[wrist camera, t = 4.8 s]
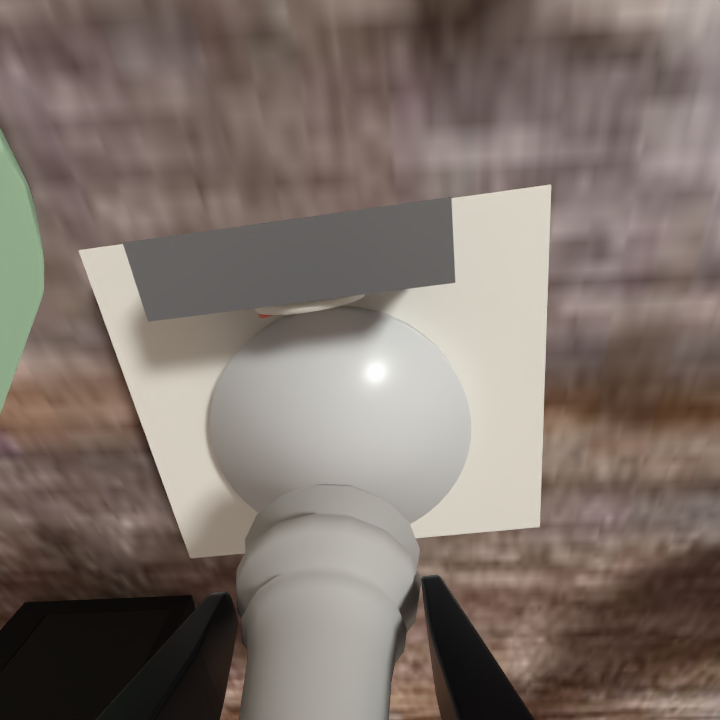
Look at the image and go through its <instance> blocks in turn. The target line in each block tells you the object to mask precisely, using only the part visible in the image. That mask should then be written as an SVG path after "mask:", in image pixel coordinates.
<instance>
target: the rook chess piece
mask: <svg viewBox="0 0 720 720" xmlns="http://www.w3.org/2000/svg"><path fill="white" fill-rule="evenodd" d="M245 550H246V552H245V554H244V556H243V558H242V560H241V562H240V564H239V566H238V568H237V575H236V591H237V605H238V612H239V614H240V615H241V617H242V618H241V629H242V642H243V644H244V646H245V647H246V649H247V666H246V673H245V680H244V687H243V694H242V701H241V708H240V715H239V720H389V707H390V692H391V681H392V676H393V670H394V665H395V663H396V661H397V660H398V659H399V657H400V656H401V655H402V653H403V652H404V647H405V640H406V633H407V632H408V630H409V629H410V628H411V626H412V625H413V624H414V622H415V619H416V613H417V607H418V600H419V593H420V586H421V578H420V575H419V573H418V570H417V566H418V559H419V552H420V548H419V546H418V543H417V541H416V538H415V536H414V533H413V530H412V528H411V525H410V523H409V522H408V521H407V520H406V519H405V518H404V517H403V516H402V515H401V514H400V513H399V512H397V511H396V510H395V509H394V508H393V507H392V506H391V505H390V504H389V503H388V502H387V501H385V500H384V499H382V498H380V497H378V496H376V495H373V494H371V493H368V492H366V491H363V490H361V489H358V488H356V487H354V486H351V485H336V484H318V485H314V486H311V487H307V488H304V489H300V490H297V491H293V492H290V493H287V494H283V495H281V496H280V497H279V498H277V499H276V500H275V501H273V502H272V503H271V504H270V505H268V506H267V507H266V508H264V509H263V510H262V511H261V512H259V513H258V514H257V515H256V517H255V519H254V522H253V524H252V526H251V528H250V530H249V532H248V534H247V536H246V538H245Z"/></svg>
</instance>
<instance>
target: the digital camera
mask: <svg viewBox="0 0 720 720" xmlns="http://www.w3.org/2000/svg"><path fill="white" fill-rule="evenodd" d="M191 601H192V602H191ZM190 603H191V604H190ZM189 606H190V607H189ZM188 608H189V609H188ZM187 610H188V611H187ZM194 611H195V606H194V602H193V599H192V596H168V597H145V598H121V599H98V600H75V601H52V602H28V603H24V604H23V605H22V606H21V607H20V609H19V610H18V611H17V612H16V613H15V614H14V615H13V617H12V618H11V619H10V620H9V621H8V622H7V623H6V625H5V626H4V627H3V628H2V629H1V630H0V720H96V719H97V718H98V717H99V716H100V715H101V713H102V712H103V711H104V710H105V709H106V708H107V707H108V706H109V705H110V704H111V702H112V701H113V700H114V699H115V698H116V697H117V696H118V695H119V694H120V692H121V691H122V690H123V689H124V688H125V687H126V686H127V685H128V684H129V682H130V681H131V680H132V679H133V678H134V677H135V676H136V675H137V674H138V673H139V671H140V670H141V669H142V668H143V667H144V666H145V665H146V664H147V663H148V661H149V660H150V659H151V658H152V657H153V656H154V655H155V654H156V653H157V651H158V650H159V649H160V648H161V647H162V646H163V645H164V644H165V643H166V642H167V640H168V639H169V638H170V637H171V636H172V635H173V634H174V633H175V632H176V630H177V629H178V628H179V627H180V626H181V624H183V623H184V622H185V621H186V619H187V618H188V617H189V616H190V615H191V614H192V613H193V612H194ZM186 613H187V614H186ZM185 615H186V616H185ZM184 617H185V618H184ZM183 619H184V620H183ZM182 622H183V623H182Z"/></svg>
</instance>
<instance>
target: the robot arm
mask: <svg viewBox="0 0 720 720" xmlns="http://www.w3.org/2000/svg"><path fill="white" fill-rule="evenodd" d="M421 581H422V591H423V601H424V610H425V617H426V625H427V632H428V640H429V647H430V655H431V662H432V670H433V677H434V684H435V690H436V696H437V701H438V706H439V710H440V714H441V719H442V720H535V719H534V718H533V716H532V715H531V713H530V712H529V710H528V709H527V707H526V706H525V704H524V703H523V701H522V699H521V698H520V696H519V695H518V693H517V692H516V690H515V689H514V687H513V686H512V684H511V683H510V681H509V680H508V678H507V677H506V675H505V674H504V672H503V671H502V669H501V668H500V666H499V664H498V663H497V661H496V660H495V658H494V657H493V655H492V654H491V652H490V651H489V649H488V648H487V646H486V645H485V643H484V642H483V640H482V639H481V637H480V636H479V634H478V633H477V631H476V630H475V628H474V626H473V625H472V623H471V622H470V620H469V619H468V617H467V616H466V614H465V613H464V611H463V610H462V608H461V607H460V605H459V604H458V602H457V601H456V599H455V598H454V596H453V595H452V593H451V591H450V590H449V588H448V587H447V585H446V584H445V582H444V581H443V579H442V578H441V577H440V576H439V575H429V576H423V577H422V579H421ZM237 628H238V617H237V614H236V611H235V608H234V604H233V601H232V598H231V596H230V594H229V593H228V592H215V593H211V594H210V595H208V596H207V597H206V598H205V599H204V601H203V602H202V603H201V604H200V605H199V606H198V607H197V608H196V609H195V611H194V612H193V613H192V614H191V615H190V616H189V617H188V618H187V619H186V621H185V622H184V623H183V624H182V625H181V626H180V627H179V628H178V629H177V630H176V632H175V633H174V634H173V635H172V636H171V637H170V638H169V639H168V640H167V642H166V643H165V644H164V645H163V646H162V647H161V648H160V649H159V650H158V651H157V653H156V654H155V655H154V656H153V657H152V658H151V659H150V660H149V661H148V663H147V664H146V665H145V666H144V667H143V668H142V669H141V670H140V671H139V673H138V674H137V675H136V676H135V677H134V678H133V679H132V680H131V681H130V682H129V684H128V685H127V686H126V687H125V688H124V689H123V690H122V691H121V692H120V694H119V695H118V696H117V697H116V698H115V699H114V700H113V701H112V702H111V704H110V705H109V706H108V707H107V708H106V709H105V710H104V711H103V712H102V713H101V715H100V716H99V717H98V718H97V719H96V720H220V716H221V712H222V708H223V703H224V698H225V693H226V688H227V683H228V677H229V672H230V666H231V661H232V655H233V650H234V644H235V639H236V633H237Z"/></svg>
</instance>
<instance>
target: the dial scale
mask: <svg viewBox="0 0 720 720" xmlns="http://www.w3.org/2000/svg"><path fill="white" fill-rule="evenodd" d="M550 204H551V185H545V186H538V187H530V188H523V189H516V190H509V191H502V192H494V193H487V194H480V195H473V196H466V197H459V198H451V197H448V198H441V199H434V200H427V201H420V202H412V203H405V204H398V205H391V206H384V207H376V208H369V209H362V210H355V211H348V212H341V213H333V214H326V215H319V216H312V217H305V218H298V219H290V220H283V221H276V222H269V223H262V224H254V225H247V226H240V227H233V228H226V229H219V230H211V231H204V232H197V233H190V234H183V235H176V236H168V237H161V238H154V239H147V240H140V241H132V242H125V243H123V244H121V245H113V246H106V247H99V248H92V249H85V250H79V253H80V256H81V259H82V261H83V264H84V267H85V270H86V272H87V275H88V278H89V281H90V283H91V286H92V289H93V292H94V294H95V297H96V300H97V303H98V305H99V308H100V311H101V314H102V316H103V319H104V322H105V325H106V327H107V330H108V333H109V336H110V338H111V341H112V344H113V347H114V349H115V352H116V355H117V358H118V361H119V363H120V366H121V369H122V372H123V374H124V377H125V380H126V383H127V385H128V388H129V391H130V394H131V396H132V399H133V402H134V405H135V407H136V410H137V413H138V416H139V418H140V421H141V424H142V427H143V429H144V432H145V435H146V438H147V440H148V443H149V446H150V449H151V451H152V454H153V457H154V460H155V462H156V465H157V468H158V471H159V474H160V476H161V479H162V482H163V485H164V487H165V490H166V493H167V496H168V498H169V501H170V504H171V507H172V509H173V512H174V515H175V518H176V520H177V523H178V526H179V529H180V531H181V534H182V537H183V540H184V542H185V545H186V548H187V551H188V553H189V556H190V558H201V557H212V556H223V555H234V554H245V552H246V550H245V538H246V536H247V534H248V532H249V530H250V528H251V526H252V524H253V522H254V519H255V517H256V515H257V514H258V513H259V512H261V511H262V510H263V509H264V508H266V507H267V506H268V505H270V504H271V503H272V502H273V501H275V500H276V499H277V498H279V497H280V496H281V495H283V494H287V493H290V492H293V491H297V490H300V489H304V488H307V487H311V486H314V485H318V484H336V485H351V486H354V487H356V488H358V489H361V490H363V491H366V492H368V493H371V494H373V495H376V496H378V497H380V498H382V499H384V500H385V501H387V502H388V503H389V504H390V505H391V506H392V507H393V508H394V509H395V510H396V511H397V512H399V513H400V514H401V515H402V516H403V517H404V518H405V519H406V520H407V521H408V522H409V523H410V525H411V528H412V530H413V533H414V536H415V538H423V537H434V536H445V535H456V534H467V533H478V532H489V531H500V530H511V529H522V528H533V527H540V504H541V474H542V444H543V414H544V384H545V354H546V324H547V294H548V264H549V234H550Z"/></svg>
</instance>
